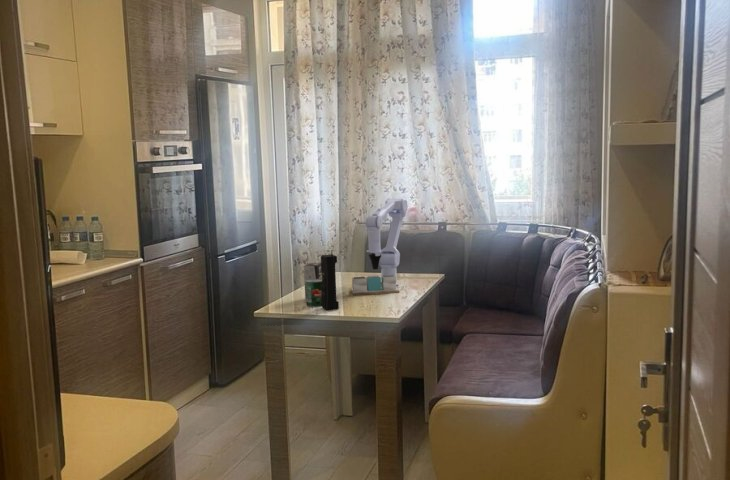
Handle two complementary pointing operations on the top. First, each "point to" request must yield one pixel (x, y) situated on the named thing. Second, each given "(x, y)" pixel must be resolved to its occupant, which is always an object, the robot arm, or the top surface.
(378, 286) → the module
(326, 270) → the portable radio
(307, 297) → the canned tomato
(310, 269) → the coffee box
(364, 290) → the board
